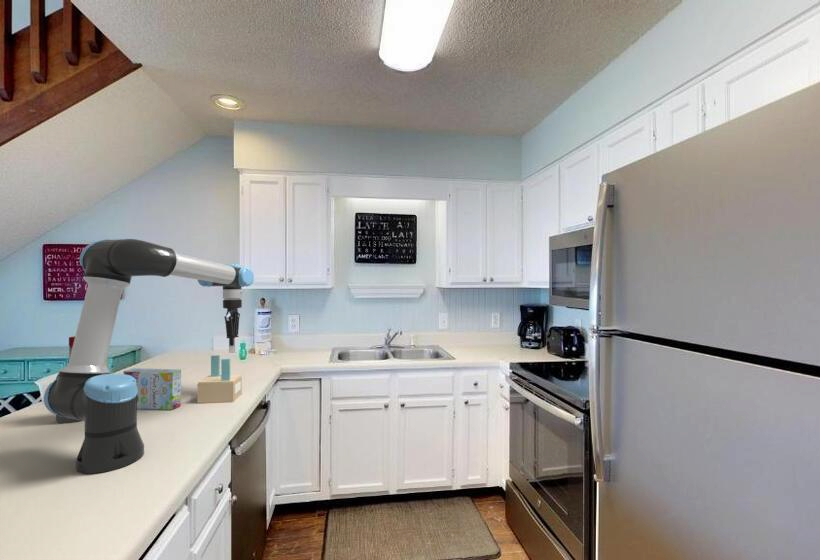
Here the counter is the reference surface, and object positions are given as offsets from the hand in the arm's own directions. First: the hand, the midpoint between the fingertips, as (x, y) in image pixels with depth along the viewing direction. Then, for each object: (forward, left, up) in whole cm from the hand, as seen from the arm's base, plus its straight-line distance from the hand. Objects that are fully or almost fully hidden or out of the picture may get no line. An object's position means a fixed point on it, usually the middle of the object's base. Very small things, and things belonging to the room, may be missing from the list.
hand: (232, 352), depth 166 cm
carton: (-4, +4, -19) cm, 20 cm away
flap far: (-2, +4, -11) cm, 11 cm away
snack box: (-12, +27, -19) cm, 35 cm away
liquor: (-22, +48, -19) cm, 56 cm away
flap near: (-7, +4, -11) cm, 13 cm away
